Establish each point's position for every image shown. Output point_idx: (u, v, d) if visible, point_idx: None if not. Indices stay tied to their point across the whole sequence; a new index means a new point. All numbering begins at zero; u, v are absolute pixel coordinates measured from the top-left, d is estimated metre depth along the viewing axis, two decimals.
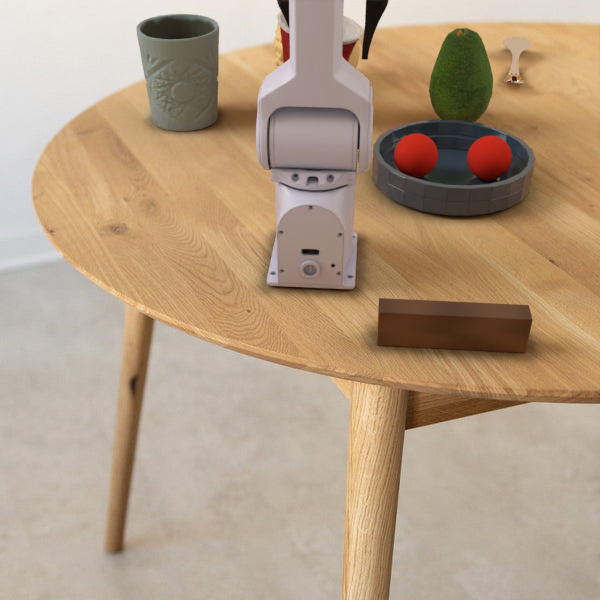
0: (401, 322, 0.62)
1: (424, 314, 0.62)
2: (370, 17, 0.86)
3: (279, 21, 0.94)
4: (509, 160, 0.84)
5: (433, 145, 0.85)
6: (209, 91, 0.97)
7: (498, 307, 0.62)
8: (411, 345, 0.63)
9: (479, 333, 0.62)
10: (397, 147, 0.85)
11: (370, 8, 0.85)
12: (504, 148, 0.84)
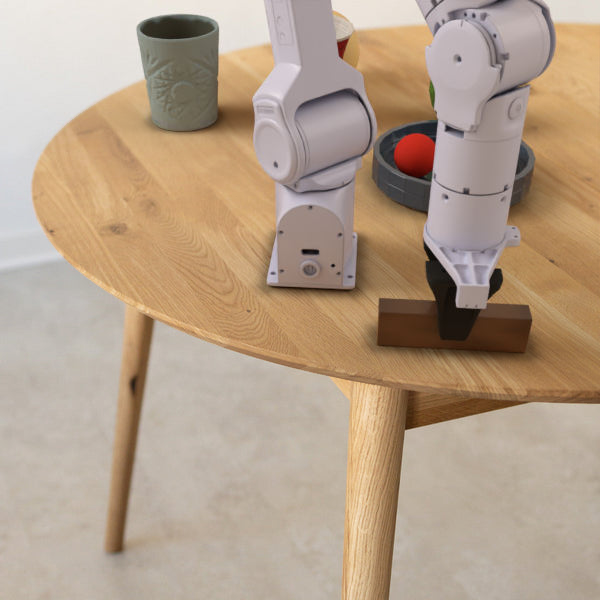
0: (401, 322, 0.62)
1: (424, 314, 0.62)
2: None
3: None
4: None
5: (433, 145, 0.85)
6: (209, 91, 0.97)
7: (498, 307, 0.62)
8: (411, 345, 0.64)
9: (479, 333, 0.62)
10: (397, 147, 0.85)
11: None
12: None
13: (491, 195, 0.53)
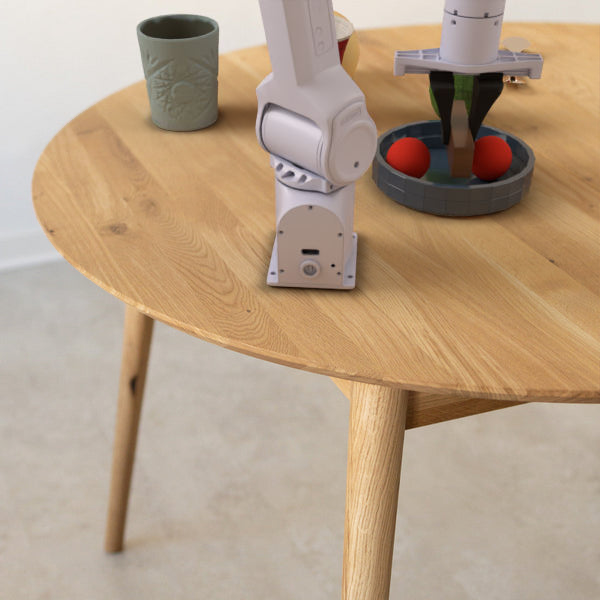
0: None
1: None
2: (482, 103, 0.78)
3: None
4: (509, 160, 0.84)
5: (420, 151, 0.83)
6: (209, 91, 0.97)
7: (453, 108, 0.85)
8: None
9: None
10: (387, 161, 0.85)
11: (483, 94, 0.77)
12: (504, 148, 0.84)
13: None
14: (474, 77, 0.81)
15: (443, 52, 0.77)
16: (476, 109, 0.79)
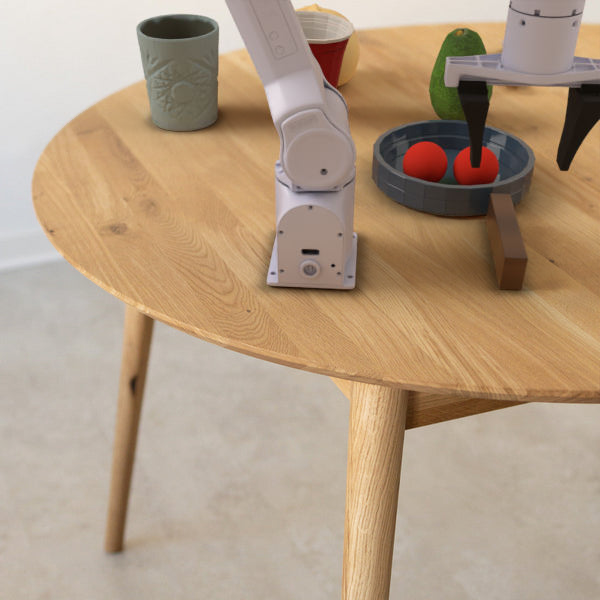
0: None
1: None
2: (583, 121, 0.65)
3: None
4: (495, 170, 0.82)
5: (443, 171, 0.83)
6: (209, 91, 0.97)
7: (499, 205, 0.76)
8: None
9: None
10: (410, 157, 0.83)
11: (587, 111, 0.64)
12: (484, 172, 0.81)
13: None
14: (571, 89, 0.67)
15: (507, 59, 0.63)
16: (575, 128, 0.65)
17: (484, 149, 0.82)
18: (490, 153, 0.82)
